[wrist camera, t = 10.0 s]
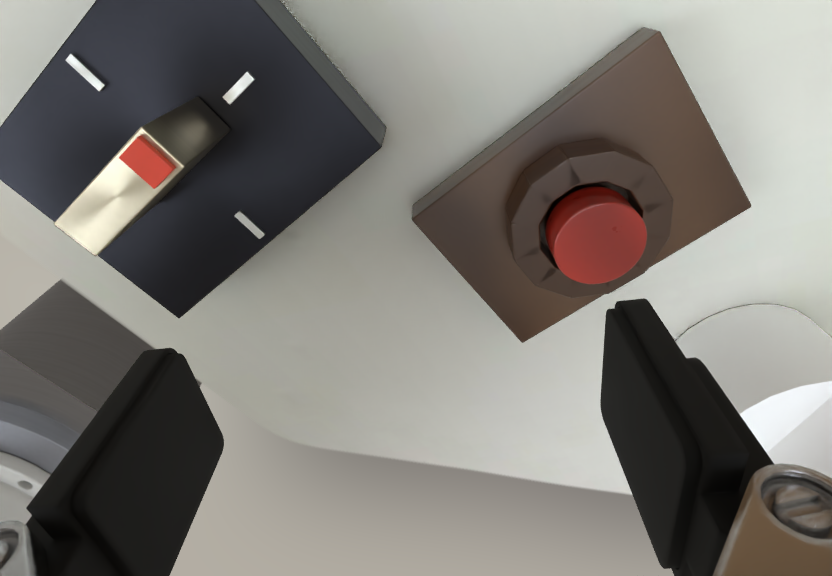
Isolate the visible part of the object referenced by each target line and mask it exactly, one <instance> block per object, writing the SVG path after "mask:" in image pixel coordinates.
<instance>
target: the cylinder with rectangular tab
mask: <svg viewBox="0 0 832 576" xmlns="http://www.w3.org/2000/svg"><path fill="white" fill-rule="evenodd" d="M675 342H676V343H677V345H678V346H679V348H680V349H681V351H682V352H683V354H684V355H685V357H686V358H694V357H696V358H698V359H700V360H701V361H702V362H703V363H704V365H705V366H706V367H707V369H708V370H709V372H710V373H711V374H712V376H713V377H714V379H715V380H716V382H717V383H718V384H719V386H720V387H721V389H722V390H723V392H724V393H725V394H726V396H727V397H728V399H729V400H730V401H731V403H732V404H733V406H734V407H735V409H736V410H737V411H738V413H739V414H740V416H741V417H742V419H743V420H744V421H745V423H746V424H747V426H748V427H749V429H750V430H751V431H752V433H753V434H754V436H755V437H756V439H757V440H758V441H759V443H760V444H761V446H762V447H763V449H764V450H765V451H766V453H767V454H768V456H769V457H770V459H771V460H772V461H773V463H774V464H780V463H782V464H793V465H799V466H803V467H806V468H810V469H813V470H816V471H818V472H820V473H822V474H824V475H826V476H828V477H830V478H832V338H831V337H830V336H829V335H828V334H827V333H826V332H825V331H823V330H822V329H821V328H820V327H819V326H818V325H817V324H816V323H815V322H813V321H812V320H811V319H810V318H808V317H807V316H805V315H804V314H802V313H800V312H799V311H797V310H796V309H792V308H788V307H784V306H780V305H776V304H751V305H746V306H741V307H736V308H731V309H728V310H725V311H723V312H720V313H718V314H715V315H713V316H710V317H708V318H706V319H704V320H703V321H701V322H699V323H698V324H696V325H695V326H693V327H691V328H690V329H688V330H687V331H686V332H685V333H684V334H683V335H681V336H680V337H679V338H678V339H677V340H676V341H675Z"/></svg>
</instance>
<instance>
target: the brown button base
mask: <svg viewBox="0 0 832 576" xmlns="http://www.w3.org/2000/svg"><path fill="white" fill-rule="evenodd" d="M587 187H605V188H609V189H612V190H614V191H616V192H618V193H620V194H621V195H622V196H623V197H624V198H625V199H626V200H627V201H628V202H629V203H630V204H631V206H632V207H633V208H634V209H635V210H636V211H637V212H638V213H639V215H640V216H641V217H642V219H643V221H644V223H645V226H646V230H647V241H646V246H645V250H644V252H643V254H642V256H641V258H640V259H639V261H638V262H637V263H636V264H635V265H634V266H633V267H632V269H630V270H629V271H628V272H627V273H625V274H624V275H622V276H620V277H619V278H617V279H614V280H612V281H609V282H605V283H600V284H585V283H580V282H577V281H574V280H572V279H570V278H569V277H567V276H566V275H565V274H563V273H562V272H561V270H560V269H559V268H558V266H557V264H556V262H555V260H554V257H553V255H552V253H551V251H550V249H549V246H548V244H547V241H546V235H545V229H546V223H547V220H548V218H549V215H550V213H551V212H552V210H553V209H554V207H555V206H556V205H557V204H558V203H559V202H560V201H561V200H562V199H563V198H565V197H566V196H567V195H569V194H571V193H572V192H575V191H577V190H580V189H583V188H587ZM750 207H751V203H750V202H749V200H748V198H747V196H746V194H745V192H744V190H743V188H742V186H741V184H740V182H739V181H738V179H737V177H736V175H735V173H734V171H733V169H732V167H731V165H730V163H729V161H728V160H727V158H726V156H725V154H724V152H723V150H722V148H721V146H720V144H719V142H718V140H717V139H716V137H715V135H714V133H713V131H712V129H711V127H710V125H709V123H708V121H707V120H706V118H705V116H704V114H703V112H702V110H701V108H700V106H699V104H698V102H697V100H696V99H695V97H694V95H693V93H692V91H691V89H690V87H689V85H688V83H687V81H686V79H685V78H684V76H683V74H682V72H681V70H680V68H679V66H678V64H677V62H676V60H675V58H674V57H673V55H672V53H671V51H670V49H669V47H668V45H667V43H666V41H665V39H664V37H663V36H662V34H661V32H660V31H657V30H653V29H649V28H645V27H644V28H642V29H640V30H639V31H638V32H637V33H635V34H634V35H633V36H631V37H630V38H629V39H627V40H626V41H625V42H624V43H622V44H621V45H620V46H618V47H617V48H616V49H615V50H613V51H612V52H611V53H609V54H608V55H607V56H605V57H604V58H603V59H602V60H600V61H599V62H598V63H596V64H595V65H594V66H593V67H591V68H590V69H589V70H587V71H586V72H585V73H583V74H582V75H581V76H580V77H578V78H577V79H576V80H574V81H573V82H572V83H571V84H569V85H568V86H567V87H565V88H564V89H563V90H561V91H560V92H559V93H558V94H556V95H555V96H554V97H552V98H551V99H550V100H548V101H547V102H546V103H545V104H543V105H542V106H541V107H539V108H538V109H537V110H536V111H534V112H533V113H532V114H530V115H529V116H528V117H526V118H525V119H524V120H523V121H521V122H520V123H519V124H517V125H516V126H515V127H514V128H512V129H511V130H510V131H508V132H507V133H506V134H504V135H503V136H502V137H501V138H499V139H498V140H497V141H495V142H494V143H493V144H492V145H490V146H489V147H488V148H486V149H485V150H484V151H482V152H481V153H480V154H479V155H477V156H476V157H475V158H473V159H472V160H471V161H469V162H468V163H467V164H466V165H464V166H463V167H462V168H460V169H459V170H458V171H457V172H455V173H454V174H453V175H451V176H450V177H449V178H447V179H446V180H445V181H444V182H442V183H441V184H440V185H438V186H437V187H436V188H435V189H433V190H432V191H431V192H429V193H428V194H427V195H425V196H424V197H423V198H422V199H420V200H419V201H418V202H416V203H415V204H414V205H413V207H412V221H413V222H414V223H415V224H416V225H417V226H418V228H419V229H420V230H421V231H422V232H423V233H424V234H425V235H426V236H427V238H428V239H429V240H430V241H431V242H432V243H433V244H434V245H435V246H436V248H437V249H438V250H439V251H440V252H441V253H442V254H443V255H444V256H445V258H446V259H447V260H448V261H449V262H450V263H451V264H452V265H453V266H454V268H455V269H456V270H457V271H458V272H459V273H460V274H461V275H462V276H463V278H464V279H465V280H466V281H467V282H468V283H469V284H470V285H471V286H472V288H473V289H474V290H475V291H476V292H477V293H478V294H479V295H480V296H481V298H482V299H483V300H484V301H485V302H486V303H487V304H488V305H489V307H490V308H491V309H492V310H493V311H494V312H495V313H496V314H497V315H498V317H499V318H500V319H501V320H502V321H503V322H504V323H505V324H506V325H507V327H508V328H509V329H510V330H511V331H512V332H513V333H514V334H515V335H516V337H517V338H518V339H519V340H520V341H521V342H522V343H523V342H525V341H527V340H528V339H530V338H532V337H533V336H535V335H537V334H538V333H540V332H542V331H543V330H545V329H547V328H548V327H550V326H552V325H553V324H555V323H557V322H559V321H560V320H562V319H564V318H565V317H567V316H569V315H570V314H572V313H574V312H575V311H577V310H579V309H580V308H582V307H584V306H585V305H587V304H589V303H590V302H592V301H594V300H596V299H597V298H599V297H601V296H602V295H604V294H609V293H610V292H613V291H614V290H616V289H618V288H619V287H621V286H623V285H624V284H626V283H628V282H630V281H631V280H633V279H635V278H636V277H638V276H640V275H641V274H643V273H645V271H647V269H648V268H649V267H651V266H653V265H654V264H656V263H658V262H659V261H661V260H663V259H664V258H666V257H668V256H670V255H671V254H673V253H675V252H676V251H678V250H680V249H681V248H683V247H685V246H686V245H688V244H690V243H691V242H693V241H695V240H696V239H698V238H700V237H701V236H703V235H705V234H707V233H708V232H710V231H712V230H713V229H715V228H717V227H718V226H720V225H722V224H723V223H725V222H727V221H728V220H730V219H732V218H733V217H735V216H737V215H739V214H740V213H742V212H744V211H745V210H747V209H749V208H750Z"/></svg>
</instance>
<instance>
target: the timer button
mask: <svg viewBox="0 0 832 576" xmlns="http://www.w3.org/2000/svg"><path fill="white" fill-rule="evenodd" d="M545 235H546V241H547V244H548V246H549V249H550V251H551V253H552V255H553V257H554V260H555V262H556V264H557V266H558V268H559V269H560V270H561V272H562V273H563V274H565V275H566V276H567V277H569V278H570V279H572V280H574V281H577V282H580V283H585V284H600V283H605V282H609V281H612V280H614V279H617V278H619V277H620V276H622V275H624V274H625V273H627V272H628V271H629V270H630V269H632V267H633V266H634V265H635V264H636V263H637V262H638V261H639V259H640V258H641V256H642V254H643V252H644V250H645V246H646V241H647V230H646V226H645V223H644V221H643V219H642V217H641V216H640V215H639V213H638V212H637V211H636V210H635V209H634V208H633V207H632V206H631V204H630V203H629V202H628V201H627V200H626V199H625V198H624V197H623V196H622V195H621V194H620V193H618V192H616V191H614V190H612V189H609V188H605V187H587V188H583V189H580V190H577V191H575V192H572V193H571V194H569V195H567V196H566V197H565V198H563V199H562V200H561V201H560V202H559V203H558V204H557V205H556V206H555V207H554V209H553V210H552V212H551V213H550V215H549V218H548V220H547V223H546V229H545Z"/></svg>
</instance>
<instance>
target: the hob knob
mask: <svg viewBox="0 0 832 576" xmlns="http://www.w3.org/2000/svg"><path fill="white" fill-rule="evenodd" d="M229 131H230V128H229V127H228V126H227V125H226V124H225V123H224V122H223V121H222V120H221V119H220V118H219V117H218V116H217V115H216V114H215V113H214V112H213V111H212V110H211V109H210V108H209V107H208V106H207V105H206V104H205V103H204V102H203V101H202V100H201V99H200V98H199V97H195V98H193V99H192V100H190V101H188V102H186V103H184V104H182V105H180V106H179V107H177V108H175V109H173V110H171V111H169V112H167V113H166V114H164V115H162V116H160V117H158V118H156V119H154V120H153V121H151V122H149V123H147V124H145V125H143V126H142V127H140V128H139V129H138V130H137V131H136V133H135V134H134V135H133V136H132V137H131V138H130V139H129V140H128V141H127V143H126V144H125V145H124V146H123V147H122V148H121V149H120V150H119V151H118V153H117V154H116V155H115V156H114V157H113V158H112V159H111V160H110V161H109V163H108V164H107V165H106V166H105V167H104V168H103V169H102V170H101V171H100V173H99V174H98V175H97V176H96V177H95V178H94V179H93V180H92V181H91V183H90V184H89V185H88V186H87V187H86V188H85V189H84V190H83V191H82V193H81V194H80V195H79V196H78V197H77V198H76V199H75V200H74V201H73V203H72V204H71V205H70V206H69V207H68V208H67V209H66V210H65V211H64V213H63V214H62V215H61V216H60V217H59V218H58V219H57V220H56V221H55V223H54V225H55V226H57V227H58V228H59V229H61V230H62V231H63V232H64V233H66V234H67V235H68V236H70V237H71V238H72V239H73V240H75V241H76V242H77V243H79V244H80V245H81V246H83V247H84V248H85V249H86V250H88V251H89V252H90V253H92V254H93V255H94V256H97V255H98V254H100V253H101V252H102V251H103V250H104V249H105V248H107V247H108V246H109V245H110V244H111V243H112V242H114V241H115V240H116V239H117V238H118V237H119V236H121V235H122V234H123V233H124V232H125V231H126V230H128V229H129V228H130V227H131V226H132V225H133V224H134V223H136V222H137V221H138V220H139V219H140V218H141V217H143V216H144V215H145V214H146V213H147V212H148V211H150V210H151V209H152V208H153V207H154V206H155V205H156V204H157V203H158V202H159V201H160V200H161V199H162V198H163V197H164V196H165V195H166V194H167V193H168V192H169V191H170V190H171V189H172V188H173V187H174V186H175V185H176V184H177V183H178V182H179V181H180V180H181V179H182V178H183V177H184V176H185V175H186V174H187V173H188V172H189V171H190V170H191V169H192V168H193V167H194V166H195V165H196V164H197V163H198V162H199V161H200V160H201V159H202V158H203V157H204V156H205V155H206V154H207V153H208V152H209V151H210V150H211V149H212V148H213V147H214V146H215V145H216V144H217V143H218V142H219V141H220V140H221V139H222V138H223V137H224V136H225V135H226V134H227V133H228V132H229Z"/></svg>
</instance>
